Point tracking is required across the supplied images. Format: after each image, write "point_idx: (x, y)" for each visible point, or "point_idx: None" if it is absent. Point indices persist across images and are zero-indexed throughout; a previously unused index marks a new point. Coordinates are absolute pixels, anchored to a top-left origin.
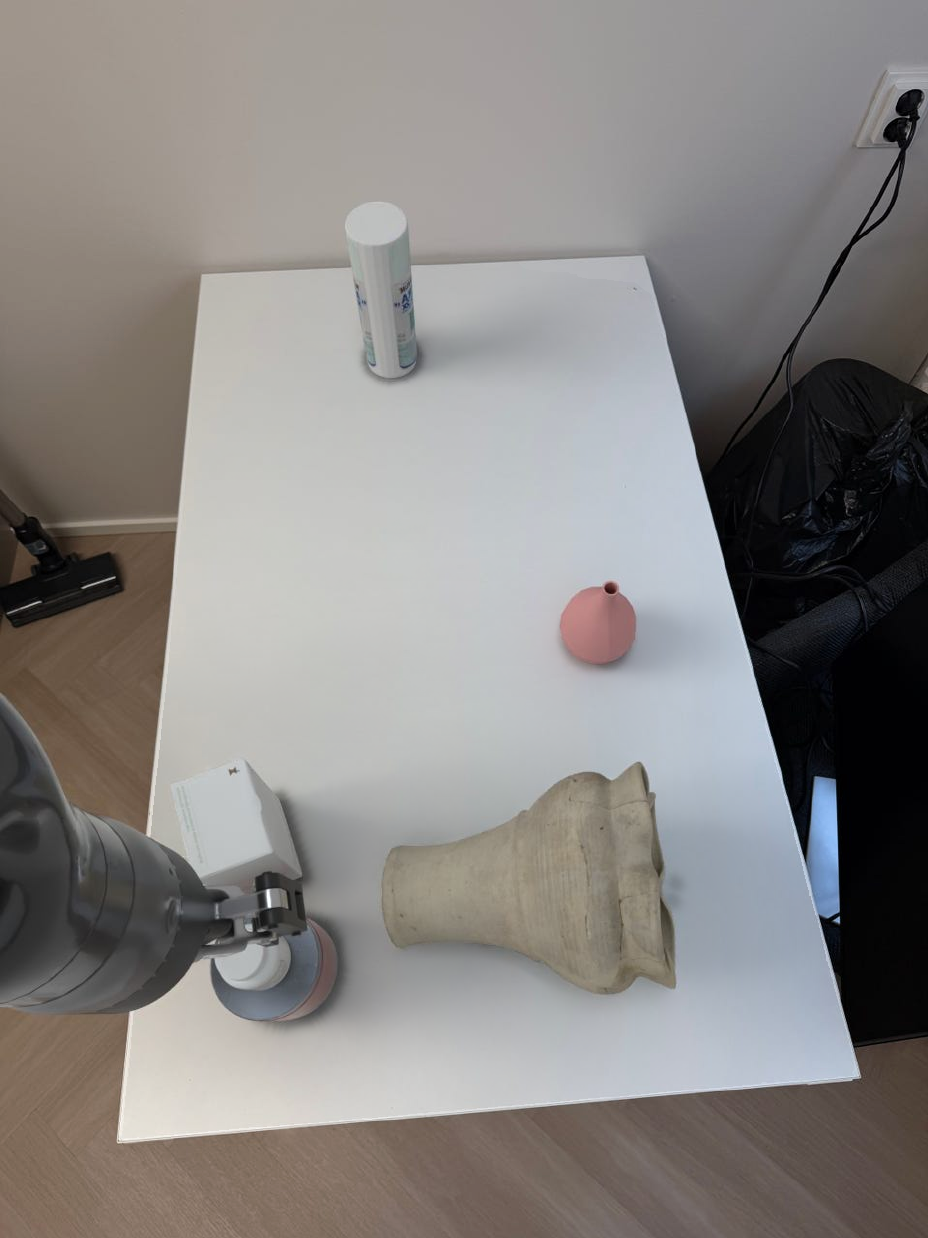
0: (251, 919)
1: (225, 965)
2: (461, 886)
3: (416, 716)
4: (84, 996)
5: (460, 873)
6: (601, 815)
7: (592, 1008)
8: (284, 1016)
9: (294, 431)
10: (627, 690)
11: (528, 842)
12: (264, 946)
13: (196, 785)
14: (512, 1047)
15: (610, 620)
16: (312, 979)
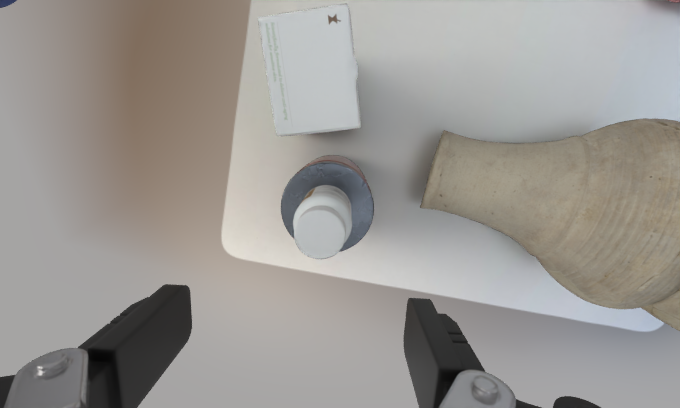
0: (435, 402)
1: (304, 242)
2: (508, 193)
3: (479, 10)
4: None
5: (511, 181)
6: None
7: (524, 265)
8: None
9: None
10: (673, 37)
11: (608, 182)
12: (408, 367)
13: (288, 26)
14: (464, 273)
15: None
16: (364, 233)
